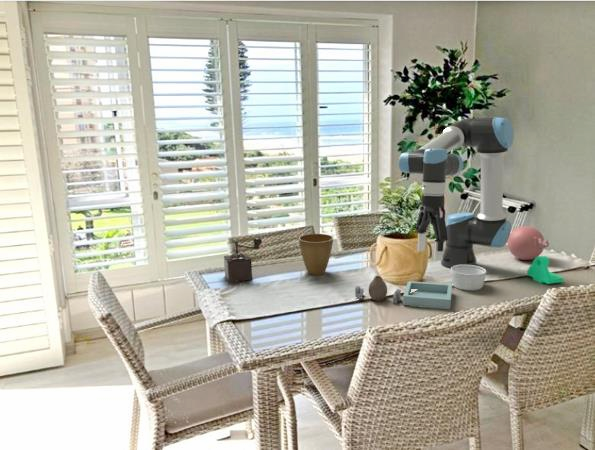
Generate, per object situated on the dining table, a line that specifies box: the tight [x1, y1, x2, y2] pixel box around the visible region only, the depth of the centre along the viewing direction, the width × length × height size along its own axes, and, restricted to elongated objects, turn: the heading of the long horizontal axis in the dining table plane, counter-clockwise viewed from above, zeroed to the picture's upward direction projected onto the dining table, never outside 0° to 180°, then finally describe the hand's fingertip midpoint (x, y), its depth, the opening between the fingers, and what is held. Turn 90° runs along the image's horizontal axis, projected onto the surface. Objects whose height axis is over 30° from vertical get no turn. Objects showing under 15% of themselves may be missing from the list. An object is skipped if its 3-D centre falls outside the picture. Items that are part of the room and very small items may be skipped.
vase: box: [368, 275, 388, 302], centre depth 190 cm, size 7×7×9 cm
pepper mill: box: [223, 237, 263, 283], centre depth 219 cm, size 16×11×18 cm
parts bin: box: [402, 280, 453, 310], centre depth 189 cm, size 16×16×4 cm
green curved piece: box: [526, 255, 564, 284], centre depth 204 cm, size 12×8×10 cm, turn 15°
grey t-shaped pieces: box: [354, 285, 402, 305], centre depth 191 cm, size 6×17×4 cm, turn 72°
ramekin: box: [450, 265, 487, 291], centre depth 201 cm, size 13×13×7 cm
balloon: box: [507, 225, 550, 261], centre depth 229 cm, size 15×20×15 cm
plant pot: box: [298, 233, 334, 276], centre depth 222 cm, size 15×15×16 cm
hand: (429, 255), depth 176 cm, fingers open, 13 cm apart
